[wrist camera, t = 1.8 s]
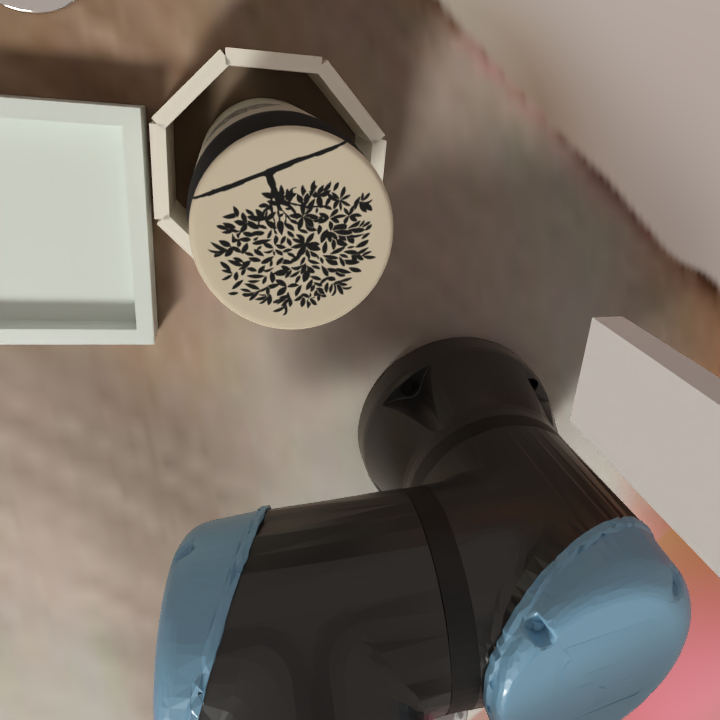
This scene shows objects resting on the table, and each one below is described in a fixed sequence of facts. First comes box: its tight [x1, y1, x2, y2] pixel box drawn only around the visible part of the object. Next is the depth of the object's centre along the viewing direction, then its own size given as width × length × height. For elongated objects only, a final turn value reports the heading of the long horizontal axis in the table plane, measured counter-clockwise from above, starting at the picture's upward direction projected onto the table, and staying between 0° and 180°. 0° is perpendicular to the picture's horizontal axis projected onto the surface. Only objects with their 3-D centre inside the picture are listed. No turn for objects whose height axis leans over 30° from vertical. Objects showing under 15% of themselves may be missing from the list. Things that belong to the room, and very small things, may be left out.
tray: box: [0, 94, 158, 344], centre depth 35 cm, size 16×14×2 cm
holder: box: [149, 47, 387, 259], centre depth 36 cm, size 13×13×5 cm
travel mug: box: [187, 98, 394, 329], centre depth 30 cm, size 8×8×18 cm
